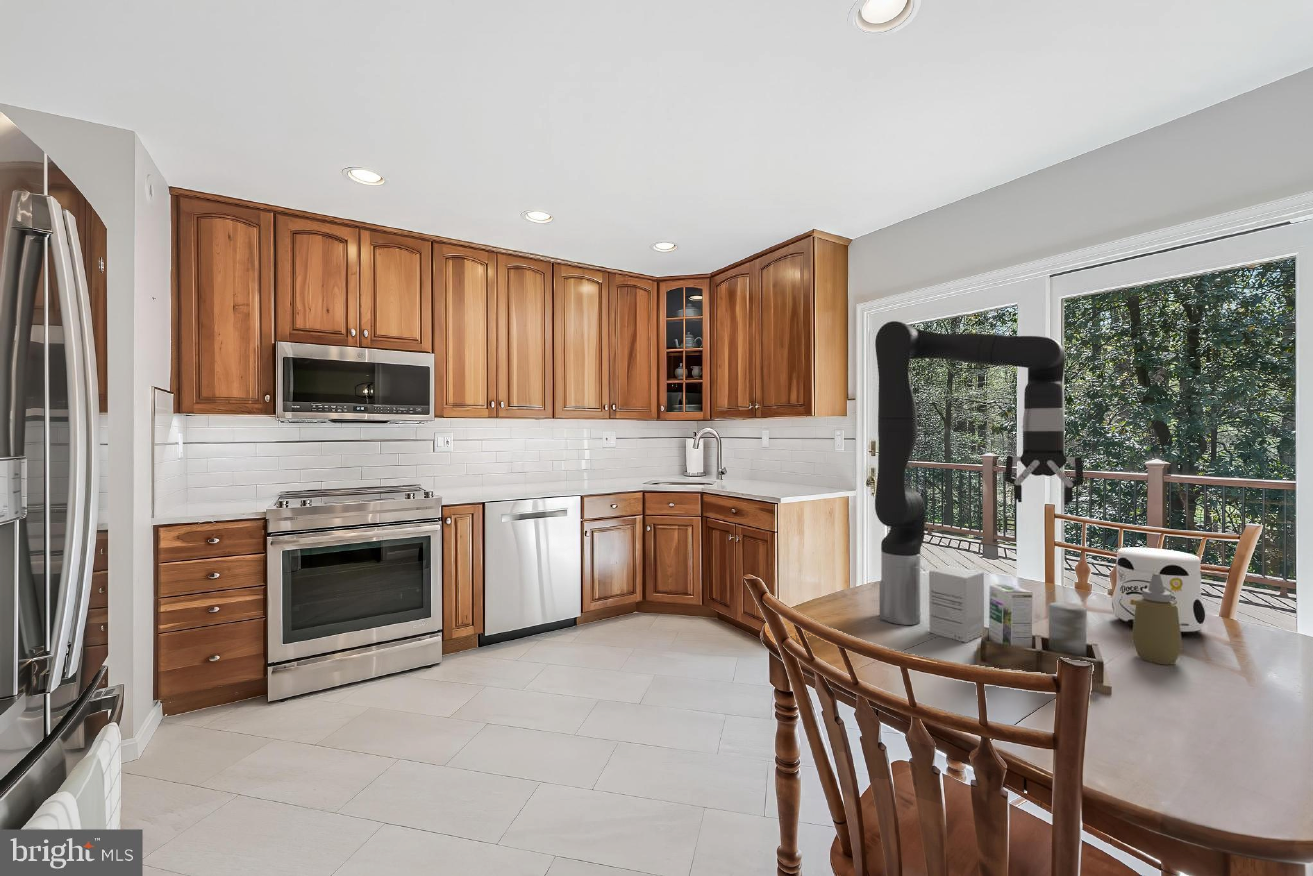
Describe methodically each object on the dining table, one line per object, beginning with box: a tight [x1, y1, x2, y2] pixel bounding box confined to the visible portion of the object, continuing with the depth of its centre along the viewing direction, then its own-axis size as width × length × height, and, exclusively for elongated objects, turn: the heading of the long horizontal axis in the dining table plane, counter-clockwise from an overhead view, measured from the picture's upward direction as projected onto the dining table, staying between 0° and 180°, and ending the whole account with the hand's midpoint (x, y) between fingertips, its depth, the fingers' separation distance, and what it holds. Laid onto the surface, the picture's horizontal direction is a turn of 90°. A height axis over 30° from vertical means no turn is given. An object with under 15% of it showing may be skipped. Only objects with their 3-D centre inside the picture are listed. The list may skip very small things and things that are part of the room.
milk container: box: [1111, 546, 1207, 635], centre depth 141 cm, size 17×17×18 cm
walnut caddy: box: [973, 602, 1113, 696], centre depth 117 cm, size 22×12×14 cm, turn 58°
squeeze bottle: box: [1131, 573, 1183, 665], centre depth 121 cm, size 8×8×18 cm
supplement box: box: [928, 565, 985, 643], centre depth 138 cm, size 9×9×15 cm
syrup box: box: [988, 583, 1034, 649], centre depth 119 cm, size 6×6×14 cm
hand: (1042, 503), depth 128 cm, fingers open, 8 cm apart
